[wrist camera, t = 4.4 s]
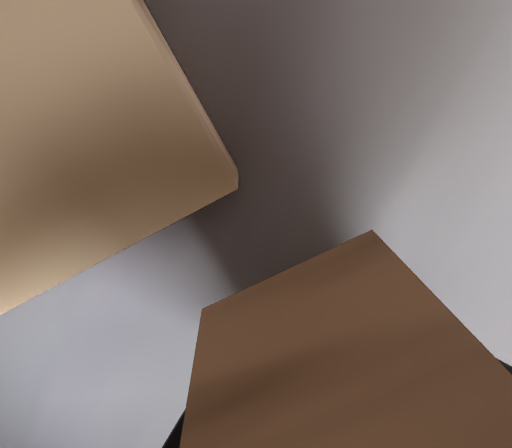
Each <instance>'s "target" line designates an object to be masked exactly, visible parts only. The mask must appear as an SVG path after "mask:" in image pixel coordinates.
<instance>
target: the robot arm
mask: <svg viewBox="0 0 512 448" xmlns="http://www.w3.org/2000/svg"><path fill="white" fill-rule="evenodd" d="M496 359H497V358H496ZM497 360H498V361H499V362H500V363H501V364H502V365H503V366H504V367H505V368H506V369H507V370H508V371H509V372H510V373H511V374H512V366H510V365H508V364H506V363H504V362H502V361H501V360H499V359H497ZM185 410H186V409H185ZM185 410H184V412H183V414H182V415H181V417H180V419H179V420H178V422H177V424H176V425H175V427H174V428H173V430H172V432H171V433H170V435H169V437H168V438H167V440H166V442H165V443H164V445H163V447H162V448H179V447H180V441H181V435H182V429H183V423H184V416H185Z"/></svg>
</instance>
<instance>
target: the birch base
mask: <svg viewBox="0 0 512 448" xmlns="http://www.w3.org/2000/svg"><path fill="white" fill-rule="evenodd" d="M237 189H238V169H237V167H236V165H235V163H234V162H233V160H232V158H231V156H230V155H229V153H228V151H227V149H226V147H225V146H224V144H223V142H222V140H221V138H220V137H219V135H218V133H217V131H216V130H215V128H214V126H213V124H212V122H211V121H210V119H209V117H208V115H207V114H206V112H205V110H204V108H203V106H202V105H201V103H200V101H199V99H198V97H197V96H196V94H195V92H194V90H193V89H192V87H191V85H190V83H189V81H188V80H187V78H186V76H185V74H184V72H183V71H182V69H181V67H180V65H179V64H178V62H177V60H176V58H175V56H174V55H173V53H172V51H171V49H170V48H169V46H168V44H167V42H166V40H165V39H164V37H163V35H162V33H161V31H160V30H159V28H158V26H157V24H156V23H155V21H154V19H153V17H152V15H151V14H150V12H149V10H148V8H147V6H146V5H145V3H144V1H143V0H0V315H1V314H3V313H5V312H7V311H9V310H10V309H12V308H14V307H16V306H18V305H20V304H22V303H24V302H26V301H27V300H29V299H31V298H33V297H35V296H37V295H39V294H41V293H43V292H44V291H46V290H48V289H50V288H52V287H54V286H56V285H58V284H60V283H61V282H63V281H65V280H67V279H69V278H71V277H73V276H75V275H76V274H78V273H80V272H82V271H84V270H86V269H88V268H90V267H92V266H93V265H95V264H97V263H99V262H101V261H103V260H105V259H107V258H109V257H110V256H112V255H114V254H116V253H118V252H120V251H122V250H124V249H126V248H127V247H129V246H131V245H133V244H135V243H137V242H139V241H141V240H143V239H144V238H146V237H148V236H150V235H152V234H154V233H156V232H158V231H160V230H161V229H163V228H165V227H167V226H169V225H171V224H173V223H175V222H177V221H178V220H180V219H182V218H184V217H186V216H188V215H190V214H192V213H194V212H195V211H197V210H199V209H201V208H203V207H205V206H207V205H209V204H211V203H212V202H214V201H216V200H218V199H220V198H222V197H224V196H226V195H227V194H229V193H231V192H233V191H235V190H237Z"/></svg>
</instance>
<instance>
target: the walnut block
mask: <svg viewBox="0 0 512 448" xmlns="http://www.w3.org/2000/svg"><path fill="white" fill-rule="evenodd" d="M179 448H512V374H511V373H510V372H509V371H508V370H507V369H506V368H505V367H504V366H503V365H502V364H501V363H500V362H499V361H498V360H497V359H496V358H495V357H494V356H493V355H492V354H491V353H490V352H489V351H488V350H487V349H486V348H485V346H484V345H483V344H482V343H481V342H480V341H479V340H478V339H477V338H476V337H475V336H474V335H473V334H472V333H471V332H470V331H469V330H468V329H467V328H466V327H465V326H464V325H463V324H462V323H461V322H460V321H459V319H458V318H457V317H456V316H455V315H454V314H453V313H452V312H451V311H450V310H449V309H448V308H447V307H446V306H445V305H444V304H443V303H442V302H441V301H440V300H439V299H438V298H437V297H436V296H435V295H434V294H433V293H432V291H431V290H430V289H429V288H428V287H427V286H426V285H425V284H424V283H423V282H422V281H421V280H420V279H419V278H418V277H417V276H416V275H415V274H414V273H413V272H412V271H411V270H410V269H409V268H408V267H407V266H406V264H405V263H404V262H403V261H402V260H401V259H400V258H399V257H398V256H397V255H396V254H395V253H394V252H393V251H392V250H391V249H390V248H389V247H388V246H387V245H386V244H385V243H384V242H383V241H382V240H381V239H380V238H379V236H378V235H377V234H376V233H375V232H374V231H373V230H370V231H368V232H366V233H364V234H362V235H360V236H358V237H355V238H353V239H351V240H349V241H347V242H345V243H343V244H340V245H338V246H336V247H334V248H332V249H330V250H328V251H325V252H323V253H321V254H319V255H317V256H315V257H313V258H310V259H308V260H306V261H304V262H302V263H300V264H297V265H295V266H293V267H291V268H289V269H287V270H285V271H282V272H280V273H278V274H276V275H274V276H272V277H270V278H267V279H265V280H263V281H261V282H259V283H257V284H255V285H252V286H250V287H248V288H246V289H244V290H242V291H240V292H237V293H235V294H233V295H231V296H229V297H227V298H225V299H222V300H220V301H218V302H216V303H214V304H212V305H210V306H207V307H205V308H203V309H202V313H201V319H200V325H199V331H198V337H197V343H196V349H195V355H194V361H193V368H192V374H191V380H190V386H189V392H188V398H187V404H186V410H185V416H184V423H183V429H182V435H181V441H180V447H179Z"/></svg>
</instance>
